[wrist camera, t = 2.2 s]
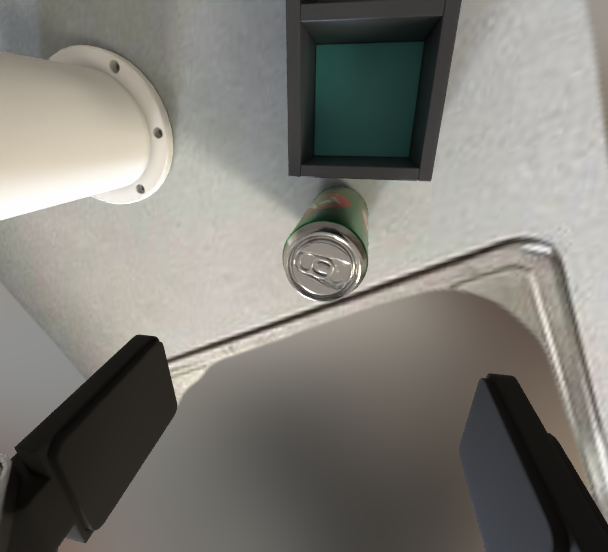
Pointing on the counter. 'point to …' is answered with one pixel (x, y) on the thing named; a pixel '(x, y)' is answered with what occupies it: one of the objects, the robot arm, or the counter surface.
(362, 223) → the soda can
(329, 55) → the two-compartment grey tray
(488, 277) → the counter surface
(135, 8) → the counter surface
